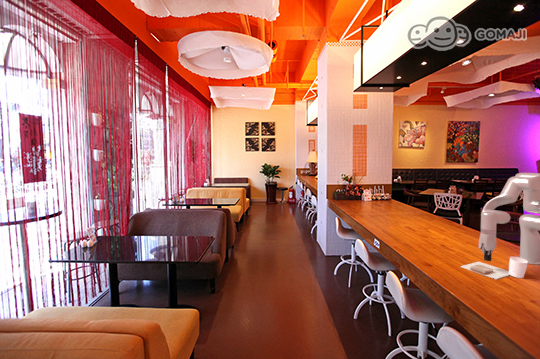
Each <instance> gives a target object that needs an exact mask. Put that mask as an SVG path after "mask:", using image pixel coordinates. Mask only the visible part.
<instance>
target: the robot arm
mask: <svg viewBox="0 0 540 359" xmlns="http://www.w3.org/2000/svg"><path fill="white" fill-rule="evenodd" d="M522 192H523V196H522V197H523V199H522V200H523V201H522V203H523V204H522V207H523V211H525V212H527V214H526V213H525V214H522V215H520V217H519V218H518V220H519V221H518V223H519V227H520V239H519V240H520V243H519V244H520V245H519V246H520V247H519V249H520V250H519V256H517V257H519V258H522V259H525V260H527V261H528V265H539V266H540V173H537V172H518V173H516V174H515V176H510V177H509V178H508V179H507V181H506V183H505V185H504V186H503V188H502V190H501V192H500V193H499V195H496V196H495V197H493V198H492V199H490V200H489V201H487V202H486V203H485V204H484V206H483V208H482V210H481V213H480V234H479V239H478V249H479V250H481V251H480V252H481V253H483V260H484V261H486V262H492V256H493V251H494V250H496V249H497V224H501V225H502V224H503V225H504V224H507V223H509V222H510V220H511V216H510V215H511V214H510V213H508V212H506V211H502V210H496V208H497V207H499V206H503V205H507V204H513V203H515V202H517V200H518V199H519V198H518V197H520V195H521V193H522ZM528 213H529V214H528ZM536 214H537V215H536Z"/></svg>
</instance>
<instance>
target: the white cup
mask: <svg viewBox="0 0 540 359" xmlns="http://www.w3.org/2000/svg"><path fill="white" fill-rule="evenodd" d="M528 265H529V264H528V261H527V260H525V259H522V258H519V257H518V256H509V263H508V271H509V274H510V275H509V276H511V277H514V278H518V279H523V278H524V277H525V274H526V271H527V267H528Z"/></svg>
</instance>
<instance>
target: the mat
mask: <svg viewBox="0 0 540 359" xmlns="http://www.w3.org/2000/svg"><path fill="white" fill-rule="evenodd" d="M478 264H479V265H482V266H485V267H488V268H491V269H493V272H492V273H489V274H485V275H484V274H481V273H478V272H475V271H473V270H470V267H471V266H475V265H478ZM460 268H463V269H466V270H468V271H471V272H473V273H476V274H479V275H481V276H485V277H488V278H491V279H493V278H494V279H493V280H495V281H496V280H500V279H503V278H507V277H509V276H511V275H510V274H509V270H507V269H503V268H501V267H497V266H494V265H491V264H488V263H484V262H481V261H476V262H471V263H469V264H464V265H461V266H460Z"/></svg>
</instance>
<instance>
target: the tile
mask: <svg viewBox="0 0 540 359" xmlns="http://www.w3.org/2000/svg"><path fill="white" fill-rule="evenodd" d="M470 270H473V271H475V272H474V273H476V272H478V273H477V274H479V273H481V274H480V275H482V274H484V275H483V276H485V274H489V273H492V272H493V269H491V268H488V267H485V266H482V265H479V264H478V265H475V266H471V267H470ZM470 270H469V271H470ZM473 271H472V272H473Z"/></svg>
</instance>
